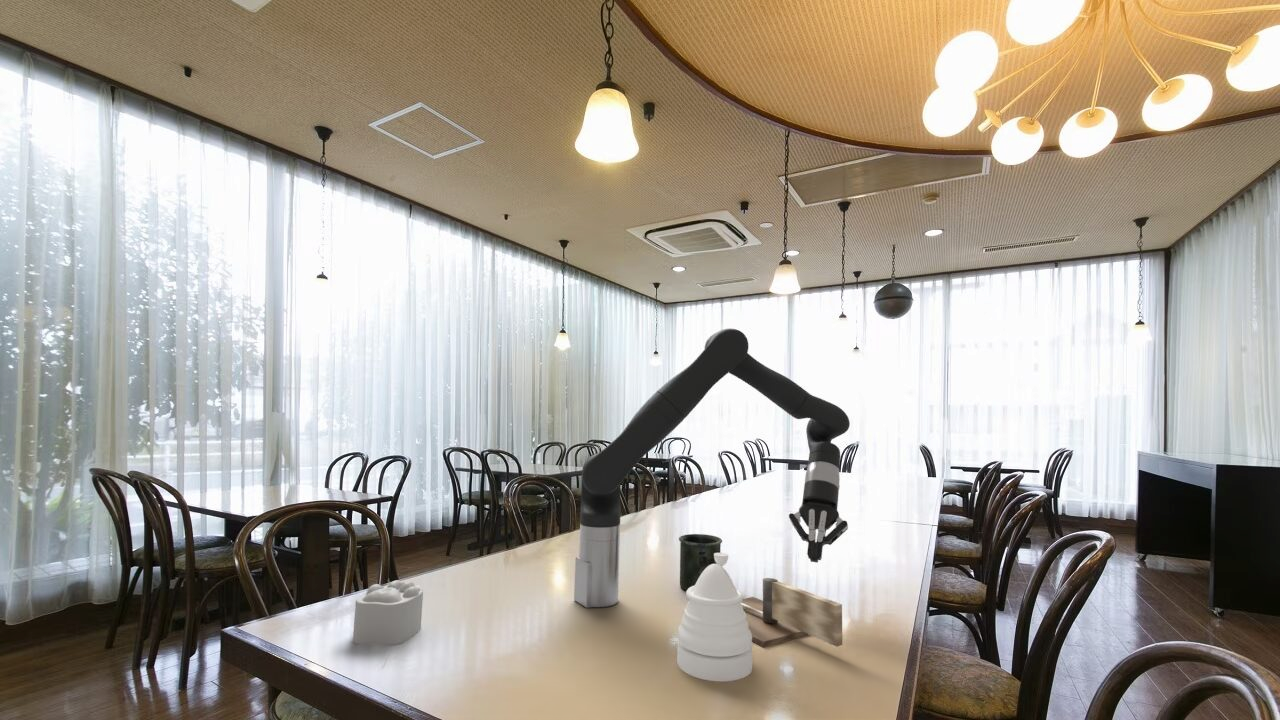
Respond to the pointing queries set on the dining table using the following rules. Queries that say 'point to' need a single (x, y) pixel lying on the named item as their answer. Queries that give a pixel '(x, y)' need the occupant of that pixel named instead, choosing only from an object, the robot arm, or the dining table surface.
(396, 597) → the lumpy-topped squat cylinder
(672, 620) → the dining table surface
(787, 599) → the plank on dark post
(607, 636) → the dining table surface
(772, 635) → the wooden sign stand
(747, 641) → the honey pot
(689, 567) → the mug
